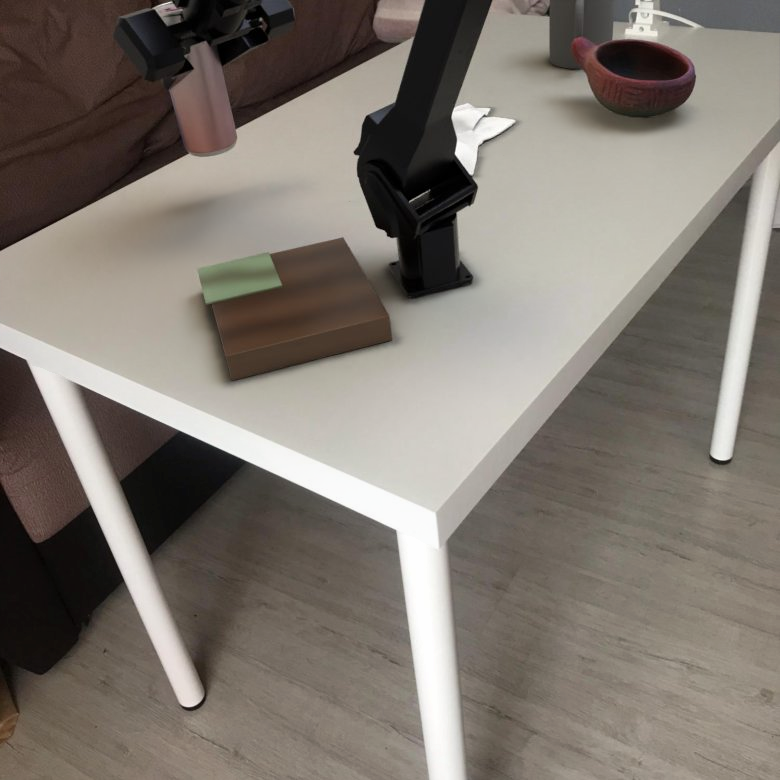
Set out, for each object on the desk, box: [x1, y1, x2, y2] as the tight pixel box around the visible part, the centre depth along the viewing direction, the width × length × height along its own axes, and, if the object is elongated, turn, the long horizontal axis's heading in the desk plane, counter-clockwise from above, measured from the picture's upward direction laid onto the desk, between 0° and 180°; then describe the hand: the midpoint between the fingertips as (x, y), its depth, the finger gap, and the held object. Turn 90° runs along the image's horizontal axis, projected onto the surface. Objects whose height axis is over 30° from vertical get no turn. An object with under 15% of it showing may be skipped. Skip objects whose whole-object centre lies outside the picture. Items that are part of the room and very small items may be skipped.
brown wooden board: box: [196, 236, 393, 381], centre depth 78 cm, size 16×14×3 cm
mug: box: [548, 0, 616, 70], centre depth 124 cm, size 14×9×12 cm
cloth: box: [452, 102, 516, 177], centre depth 107 cm, size 26×14×2 cm, turn 155°
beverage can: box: [151, 1, 238, 158], centre depth 92 cm, size 6×6×15 cm
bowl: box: [571, 37, 697, 119], centre depth 108 cm, size 16×13×8 cm
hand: (188, 77), depth 93 cm, fingers closed on beverage can, 6 cm apart
